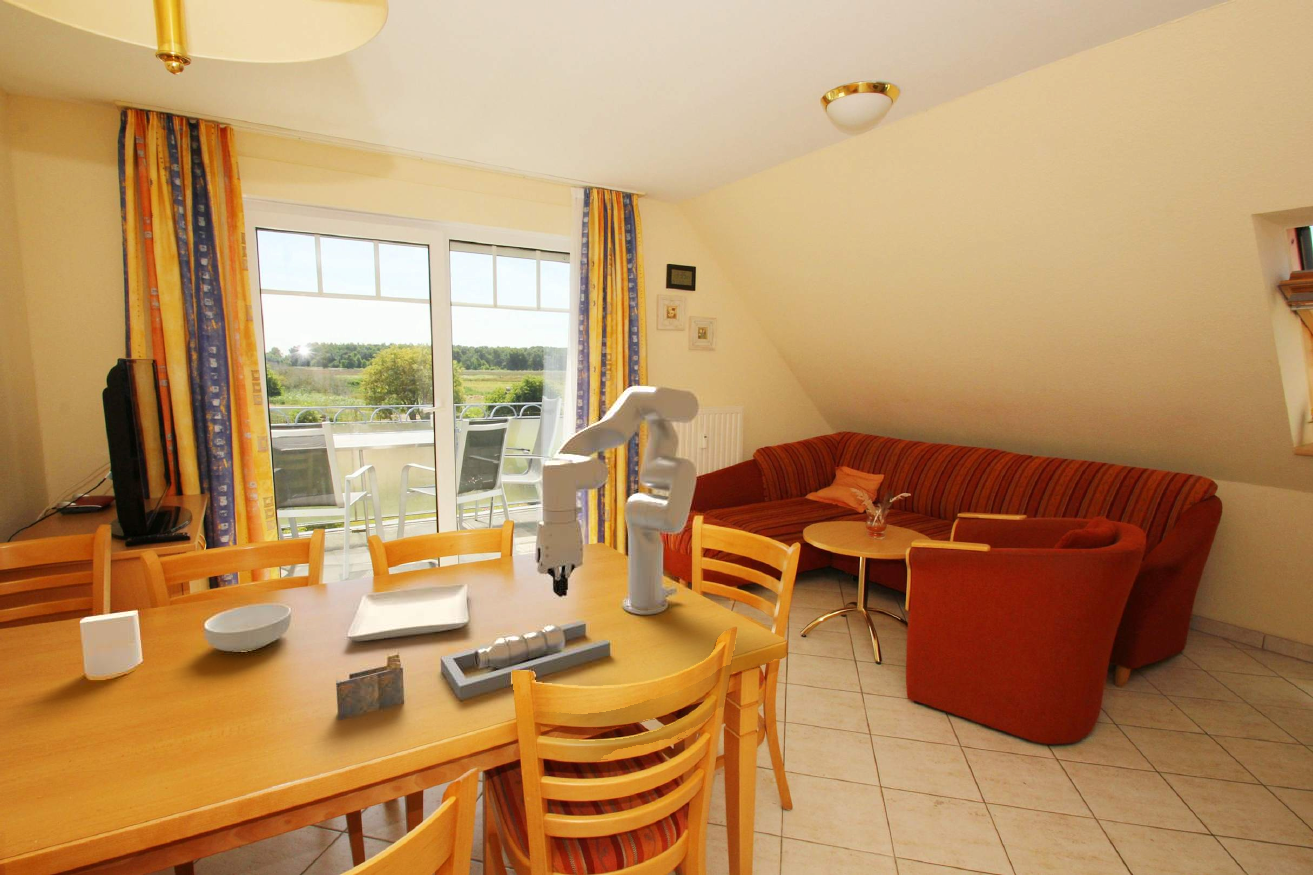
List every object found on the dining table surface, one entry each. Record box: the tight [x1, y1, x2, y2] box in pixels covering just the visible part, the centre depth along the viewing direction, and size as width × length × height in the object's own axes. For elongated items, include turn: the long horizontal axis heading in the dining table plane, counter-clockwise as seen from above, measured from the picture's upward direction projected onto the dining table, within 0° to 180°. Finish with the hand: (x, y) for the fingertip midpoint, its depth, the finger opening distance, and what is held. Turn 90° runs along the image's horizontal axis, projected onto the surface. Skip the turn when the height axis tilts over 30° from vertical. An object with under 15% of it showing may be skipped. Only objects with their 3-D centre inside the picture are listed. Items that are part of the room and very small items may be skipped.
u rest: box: [440, 620, 611, 701], centre depth 131 cm, size 34×14×3 cm, turn 124°
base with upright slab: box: [79, 610, 143, 677], centre depth 126 cm, size 9×9×12 cm
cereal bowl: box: [203, 602, 292, 652], centre depth 138 cm, size 17×17×7 cm
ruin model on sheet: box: [335, 651, 405, 721], centre depth 113 cm, size 11×3×10 cm, turn 121°
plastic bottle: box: [474, 624, 566, 670], centre depth 131 cm, size 6×7×20 cm
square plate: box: [346, 583, 470, 642], centre depth 154 cm, size 27×27×4 cm
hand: (560, 594), depth 134 cm, fingers closed
